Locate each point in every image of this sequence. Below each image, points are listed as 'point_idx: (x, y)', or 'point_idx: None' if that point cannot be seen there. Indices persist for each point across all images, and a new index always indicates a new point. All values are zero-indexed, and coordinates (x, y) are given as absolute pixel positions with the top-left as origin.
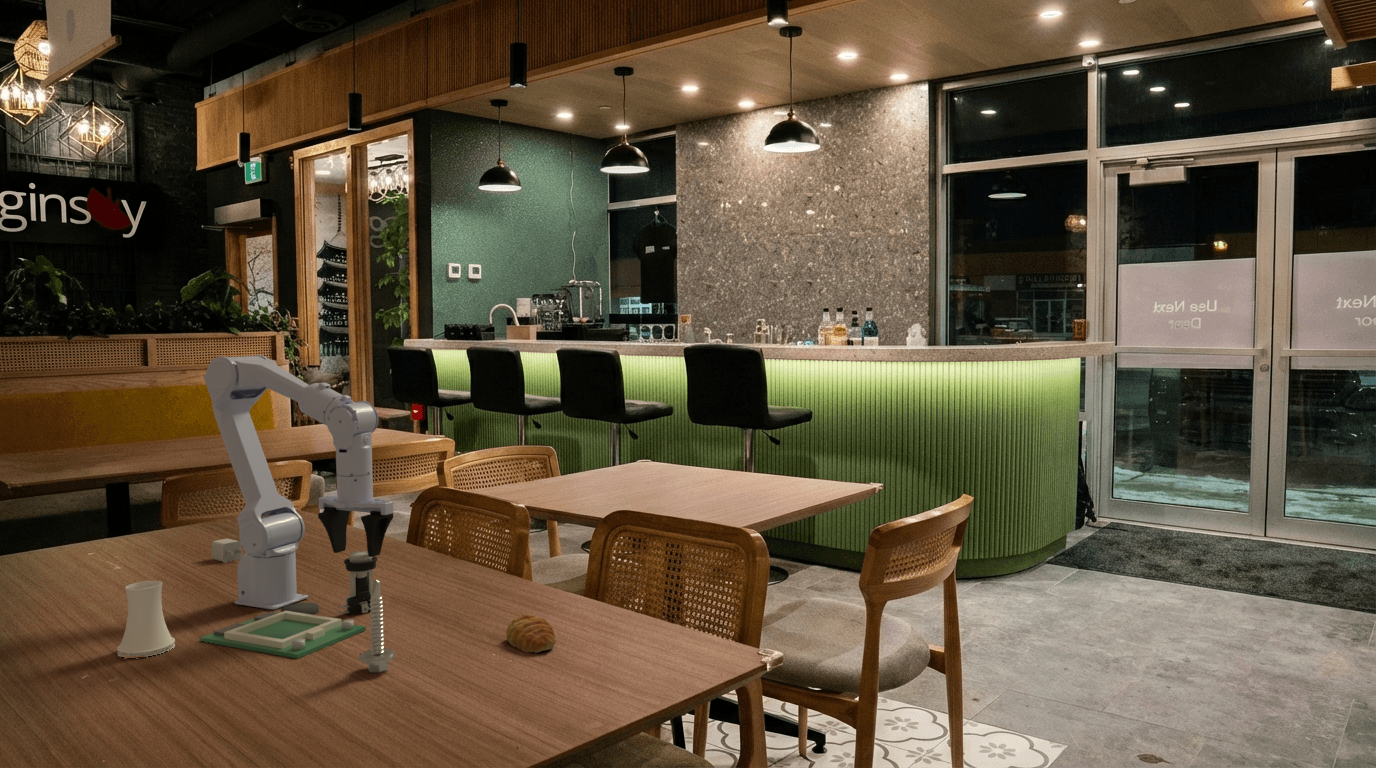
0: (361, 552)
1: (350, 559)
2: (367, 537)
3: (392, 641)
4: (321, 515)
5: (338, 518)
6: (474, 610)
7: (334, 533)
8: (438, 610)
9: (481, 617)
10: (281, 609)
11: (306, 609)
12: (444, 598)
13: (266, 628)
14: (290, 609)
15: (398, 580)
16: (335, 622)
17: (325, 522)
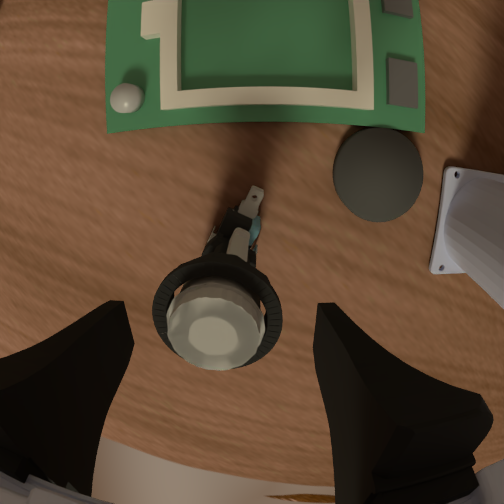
0: (226, 351)
1: (231, 291)
2: (68, 342)
3: (25, 116)
4: (455, 413)
5: (353, 459)
6: (50, 324)
7: (343, 364)
8: (94, 307)
9: (16, 296)
10: (414, 148)
11: (356, 170)
12: (148, 368)
13: (333, 18)
14: (394, 156)
15: (322, 416)
16: (160, 87)
17: (411, 388)
